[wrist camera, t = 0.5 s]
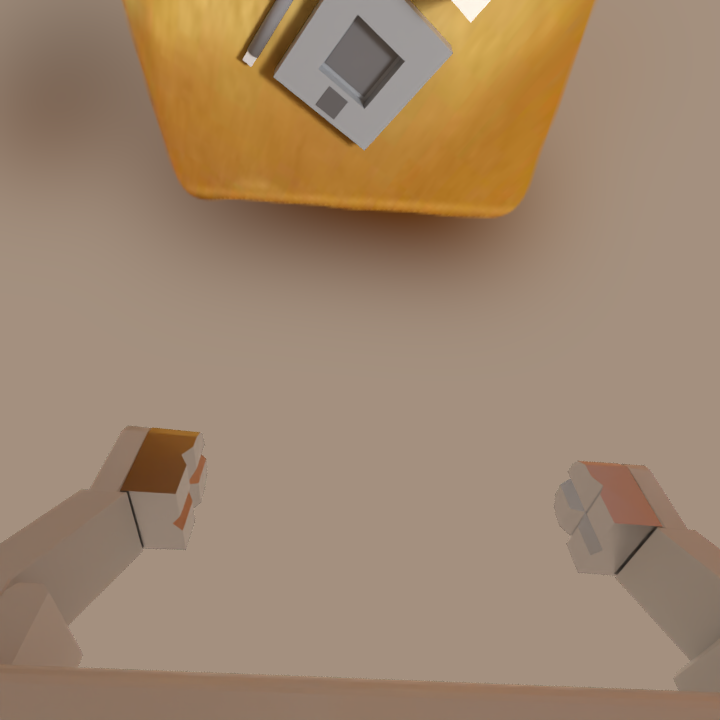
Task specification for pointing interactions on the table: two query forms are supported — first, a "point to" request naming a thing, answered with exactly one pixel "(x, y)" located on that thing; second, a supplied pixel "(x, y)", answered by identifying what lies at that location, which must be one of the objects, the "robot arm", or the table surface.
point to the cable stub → (266, 30)
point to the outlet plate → (362, 62)
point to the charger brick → (470, 7)
